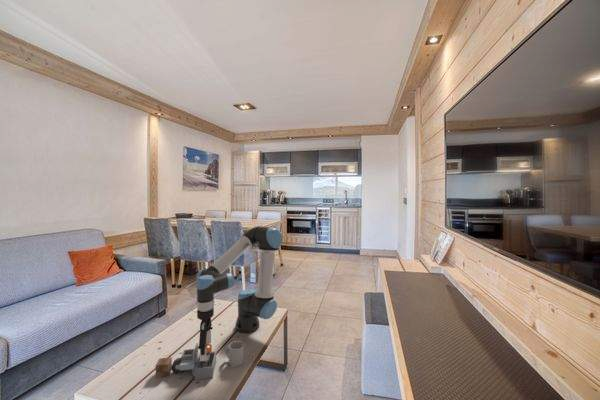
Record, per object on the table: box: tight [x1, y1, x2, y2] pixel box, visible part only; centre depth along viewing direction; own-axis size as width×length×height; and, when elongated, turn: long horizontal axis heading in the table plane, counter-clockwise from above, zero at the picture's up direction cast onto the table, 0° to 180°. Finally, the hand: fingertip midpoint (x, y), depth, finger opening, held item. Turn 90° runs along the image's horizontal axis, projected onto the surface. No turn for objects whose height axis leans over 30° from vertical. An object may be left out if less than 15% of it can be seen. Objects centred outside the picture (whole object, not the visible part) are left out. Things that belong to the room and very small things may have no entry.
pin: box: [203, 343, 213, 367], centre depth 126 cm, size 5×5×11 cm
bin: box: [194, 351, 217, 381], centre depth 126 cm, size 8×12×5 cm, turn 10°
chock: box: [155, 356, 173, 379], centre depth 123 cm, size 6×5×6 cm
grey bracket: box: [171, 342, 199, 377], centre depth 125 cm, size 11×9×10 cm
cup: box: [224, 340, 245, 367], centre depth 132 cm, size 7×10×9 cm
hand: (205, 351), depth 126 cm, fingers open, 13 cm apart
